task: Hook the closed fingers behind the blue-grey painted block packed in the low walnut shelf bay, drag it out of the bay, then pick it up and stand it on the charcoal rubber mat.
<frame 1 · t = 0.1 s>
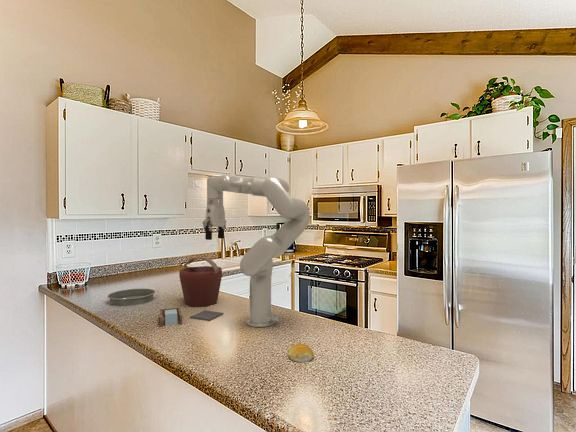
hand: (215, 238, 155), 37 cm above the worktop, tool pointing down, fingers open, 9 cm apart
bucket: (202, 303, 180), on the worktop
cake pan: (132, 301, 185), on the worktop
mat: (206, 316, 156), on the worktop
bread roll: (301, 358, 111), on the worktop
shelf bay: (170, 320, 149), on the worktop
block: (170, 322, 146), resting in shelf bay
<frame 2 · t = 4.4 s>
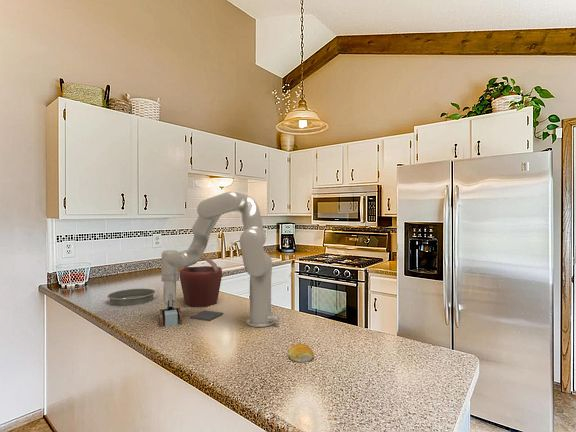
hand: (170, 317, 151), 1 cm above the worktop, tool pointing down, fingers closed
nothing on the worktop moved.
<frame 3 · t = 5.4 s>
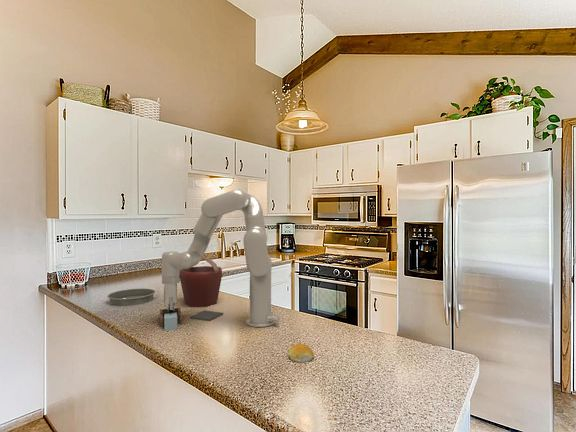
hand: (170, 320, 146), 1 cm above the worktop, tool pointing down, fingers closed
block: (170, 327, 141), on the worktop, touching gripper
everything else where it was.
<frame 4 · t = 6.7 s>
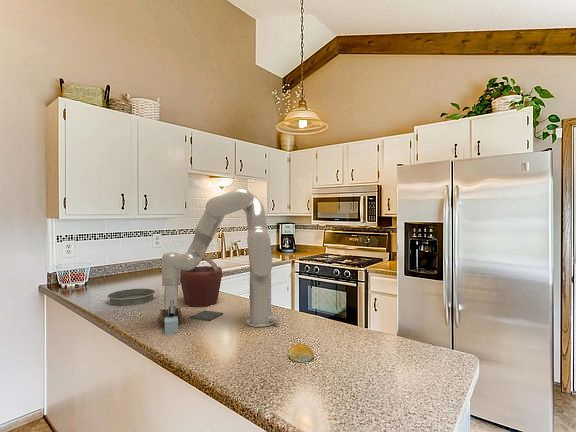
hand: (171, 324, 141), 1 cm above the worktop, tool pointing down, fingers closed
block: (171, 331, 136), on the worktop, touching gripper
everything else where it was.
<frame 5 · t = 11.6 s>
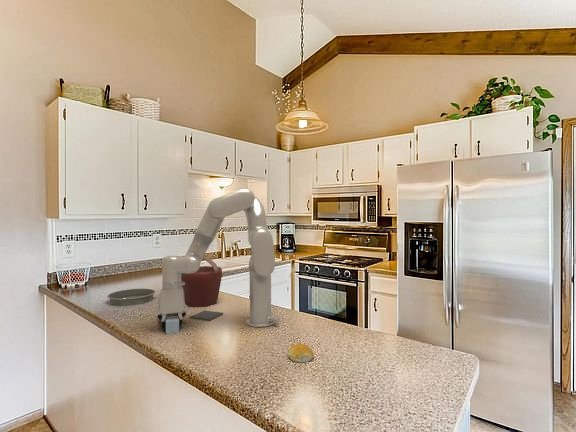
hand: (171, 328, 137), 1 cm above the worktop, tool pointing down, fingers closed on block, 5 cm apart
block: (172, 330, 136), on the worktop, touching gripper
everything else where it was.
when the fingers open (3 cm above the worktop, at t = 18.1 s): block drops 1 cm, resting on mat.
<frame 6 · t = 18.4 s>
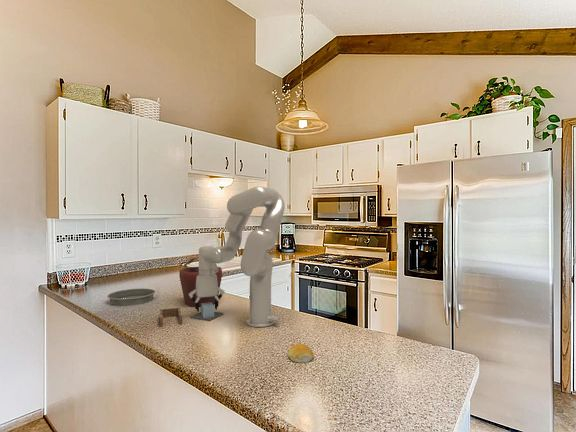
hand: (206, 309, 156), 3 cm above the worktop, tool pointing down, fingers open, 8 cm apart
block: (207, 315, 155), point 1 cm above the worktop, touching mat
everything else where it was.
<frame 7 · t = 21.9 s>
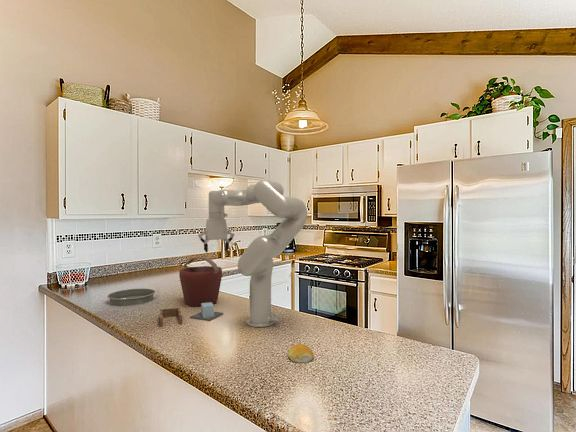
hand: (216, 251, 159), 30 cm above the worktop, tool pointing down, fingers open, 9 cm apart
nothing on the worktop moved.
at the end: block inside the target area on the mat (1.0 cm from its centre), point 0.8 cm above the mat's base; block tilted 0°; the gripper is holding nothing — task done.
